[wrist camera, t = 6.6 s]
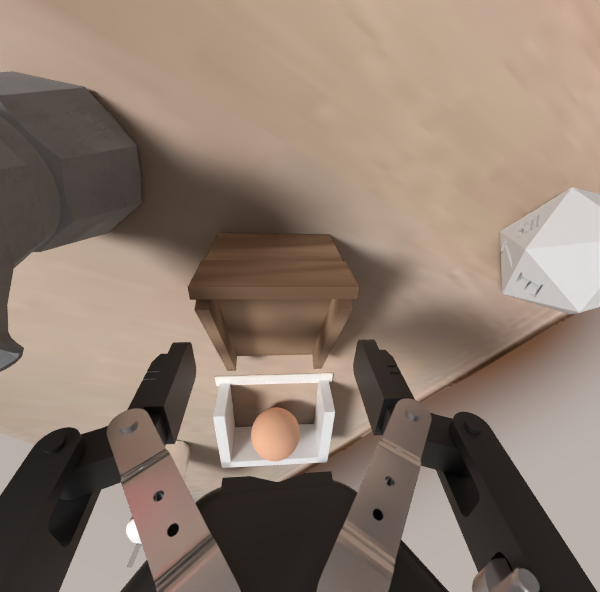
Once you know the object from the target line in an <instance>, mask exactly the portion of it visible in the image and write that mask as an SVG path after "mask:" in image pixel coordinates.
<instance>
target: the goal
mask: <svg viewBox="0 0 600 592" xmlns="http://www.w3.org/2000/svg"><path fill="white" fill-rule="evenodd" d="M334 416H335V409H334V404H333V399H332V395H331V390H330V385H329V381H328V380H319V383H318V392H317V401H316V410H315V419H314V424H298V425H299V429H300V438H299V442H298V445H297V447H296V449H295V450H294V452H293V453H292V454H291V455H290V456H289V457H287V458H286V459H284V460H281V461H268V460H266V459H264V458H262V457H261V456H260V455H259V454H258V453H257V452H256V451H255V449H254V447H253V444H252V440H251V430H252V427H235V421H234V412H233V403H232V394H231V386H230V383H220V386H219V390H218V395H217V400H216V405H215V410H214V415H213V419H214V425H215V430H216V436H217V442H218V448H219V454H220V459H221V465H222V468H230V467H247V466H265V465H283V464H301V463H318V462H327V459H328V452H329V446H330V440H331V434H332V428H333V422H334Z"/></svg>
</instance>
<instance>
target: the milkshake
mask: <svg viewBox="0 0 600 592" xmlns="http://www.w3.org/2000/svg"><path fill="white" fill-rule="evenodd" d="M165 448H166V450H168V451H169V453H170V454H171V456H172V458H173V460H174V462H175V464H176V466H177V468H178V470H179V472H180V474H181V476H182V478H183V480H184V482H185V479H186V474H187V468H188V463H189V457H190V445H188V444H187V443H185V442H184V441H177V440H176V443H175V444H166V446H165ZM126 533H127V536H128V537H129V538H130V540H131V541H132V542H134V543H137V544H136V546H135V549H134V551H133V554H132V556H131V558H130V561H129V563H128V565H127V567H132V566H133V563H134V561H135V559H136V556H137V554H138V552H139V549H140V547H141V544H142V543H141V540H140V537H139V534H138V531H137V528H136V525H135V522H134V519H133V516H132V517H131V519H130V521H129V523H128V525H127V527H126Z"/></svg>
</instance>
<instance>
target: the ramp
mask: <svg viewBox="0 0 600 592" xmlns="http://www.w3.org/2000/svg"><path fill="white" fill-rule="evenodd" d="M188 291H189V297H190V300H196V305H195V312H196V313H197V315H198V317H199V319H200V321H201V323H202V324H203V326H204V328H205V330H206V332H207V334H208V335H209V337H210V339H211V341H212V343H213V345H214V346H215V348H216V350H217V352H218V354H219V356H220V357H221V359H222V361H223V363H224V365H225V367H226V369H227V370H228V371H236V361H237V356H261V355H307V354H313V367H314V369H318V368H322V366H323V364H324V362H325V361H326V359H327V357H328V355H329V353H330V351H331V349H332V347H333V346H334V344H335V342H336V340H337V338H338V336H339V334H340V332H341V331H342V329H343V327H344V325H345V323H346V321H347V319H348V317H349V316H350V314H351V312H352V310H353V306H352V299H357V298H358V292H359V285H358V284H357V282H356V280H355V278H354V276H353V274H352V272H351V270H350V268H349V266H348V265H347V263H346V261H343V260H342V258H341V256H340V254H339V252H338V250H337V248H336V246H335V244H334V242H333V240H332V238H331V236H330V235H328V234H269V233H218V235H217V237H216V239H215V240H214V242H213V244H212V246H211V248H210V250H209V252H208V254H207V256H206V258H205V260H202V261H201V263H200V265H199V267H198V269H197V270H196V272H195V274H194V276H193V278H192V280H191V282H190V284H189V286H188Z"/></svg>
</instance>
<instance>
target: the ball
mask: <svg viewBox="0 0 600 592" xmlns="http://www.w3.org/2000/svg"><path fill="white" fill-rule="evenodd" d="M299 438H300V429H299V425H298V422H297V420H296V418H295V417H294V416H293V414H291V413H290V412H289V411H287V410H286V409H283V408H278V407H275V408H270V409H267V410H265V411H263V412H262V413H261V414H260V415H259V416H258V417H257V418H256V420H255V422H254V424H253V426H252V430H251V440H252V444H253V447H254V449H255V451H256V452H257V453H258V454H259V455H260V456H261V457H262V458H264V459H266V460H268V461H281V460H284V459H286V458H287V457H289V456H290V455H291V454H292V453H293V452H294V450H295V449H296V447H297V445H298V442H299Z"/></svg>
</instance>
